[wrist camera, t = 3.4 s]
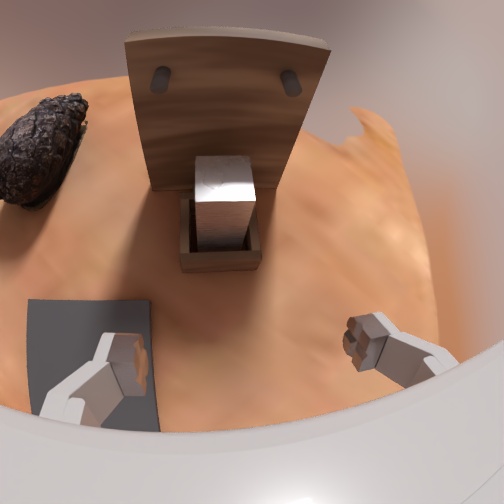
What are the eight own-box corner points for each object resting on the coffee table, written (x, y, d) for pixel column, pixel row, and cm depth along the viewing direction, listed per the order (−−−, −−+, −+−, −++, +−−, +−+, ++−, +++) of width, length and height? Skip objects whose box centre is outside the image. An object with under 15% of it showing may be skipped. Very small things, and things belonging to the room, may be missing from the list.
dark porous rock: (101, 115, 33) (87, 61, 24) (55, 221, 26) (14, 169, 17) (49, 121, 31) (30, 74, 22) (1, 218, 24) (-39, 176, 15)
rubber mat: (38, 429, 17) (34, 430, 16) (32, 301, 22) (28, 299, 21) (163, 447, 19) (161, 450, 19) (150, 301, 24) (148, 299, 24)
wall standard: (290, 267, 28) (387, 143, 11) (147, 274, 25) (75, 137, 9) (274, 174, 32) (323, 39, 16) (154, 176, 30) (131, 31, 13)
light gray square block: (239, 255, 28) (255, 200, 18) (198, 257, 27) (195, 201, 18) (235, 219, 29) (249, 156, 20) (197, 220, 28) (195, 156, 19)
